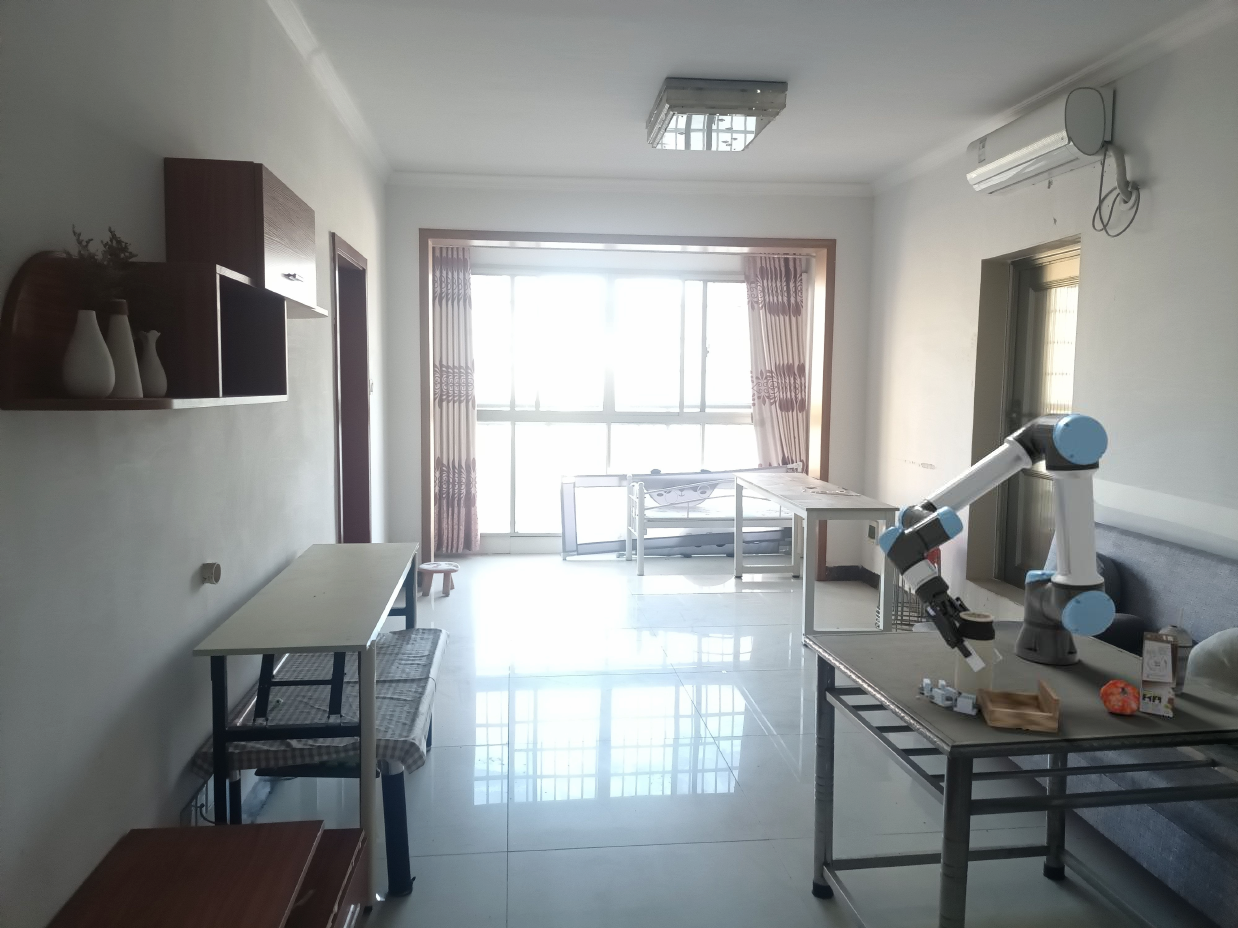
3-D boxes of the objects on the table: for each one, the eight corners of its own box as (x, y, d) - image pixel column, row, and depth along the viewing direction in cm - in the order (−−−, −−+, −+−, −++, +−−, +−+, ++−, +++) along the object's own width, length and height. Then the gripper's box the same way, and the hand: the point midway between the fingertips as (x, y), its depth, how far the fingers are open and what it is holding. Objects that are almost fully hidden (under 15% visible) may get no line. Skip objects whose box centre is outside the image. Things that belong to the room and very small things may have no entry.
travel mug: (995, 698, 191) (1000, 620, 189) (958, 695, 192) (962, 618, 191) (986, 687, 199) (990, 612, 197) (951, 684, 200) (955, 609, 199)
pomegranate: (1095, 715, 188) (1098, 699, 181) (1102, 685, 191) (1105, 668, 184) (1134, 726, 184) (1139, 710, 177) (1140, 695, 187) (1144, 678, 180)
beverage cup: (1150, 683, 204) (1156, 602, 202) (1186, 688, 200) (1192, 606, 199) (1154, 692, 197) (1160, 608, 195) (1191, 698, 194) (1198, 612, 192)
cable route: (971, 693, 194) (972, 681, 194) (983, 715, 180) (983, 702, 180) (916, 688, 197) (917, 676, 196) (924, 709, 183) (924, 697, 183)
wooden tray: (1040, 709, 184) (1042, 678, 184) (1057, 732, 172) (1059, 698, 171) (977, 703, 187) (979, 673, 187) (988, 725, 175) (990, 692, 174)
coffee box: (1173, 717, 181) (1179, 644, 180) (1138, 711, 185) (1143, 639, 183) (1172, 705, 189) (1177, 634, 188) (1139, 699, 192) (1143, 630, 191)
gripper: (936, 586, 212) (997, 664, 201) (893, 597, 198) (955, 682, 188) (958, 568, 208) (1021, 648, 197) (915, 579, 194) (980, 665, 183)
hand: (989, 664), depth 192 cm, fingers closed on travel mug, 8 cm apart
